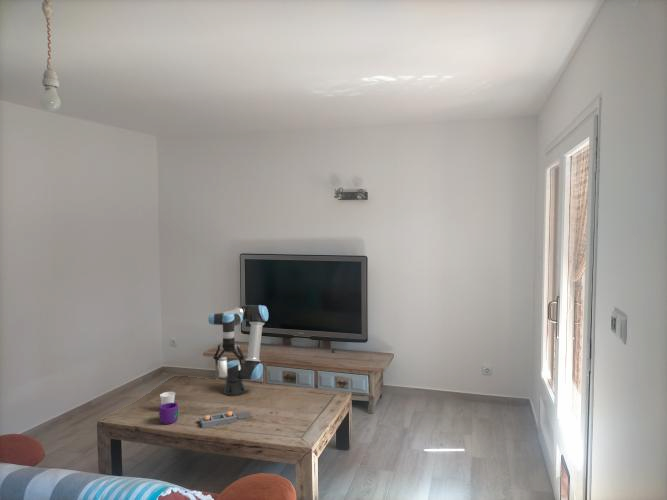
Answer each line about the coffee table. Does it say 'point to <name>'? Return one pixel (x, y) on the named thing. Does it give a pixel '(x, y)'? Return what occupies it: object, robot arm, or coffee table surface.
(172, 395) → the cup
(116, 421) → the coffee table surface
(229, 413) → the orange oval ball
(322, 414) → the coffee table surface
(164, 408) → the mug
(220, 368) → the cylinder
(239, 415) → the mat
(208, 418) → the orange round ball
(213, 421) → the tray
